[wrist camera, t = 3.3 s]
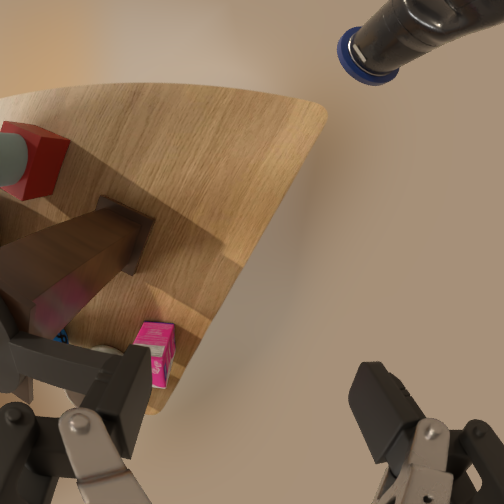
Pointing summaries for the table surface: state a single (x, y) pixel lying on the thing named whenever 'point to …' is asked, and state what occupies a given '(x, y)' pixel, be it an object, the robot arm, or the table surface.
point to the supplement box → (158, 349)
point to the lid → (44, 359)
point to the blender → (30, 160)
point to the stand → (68, 268)
